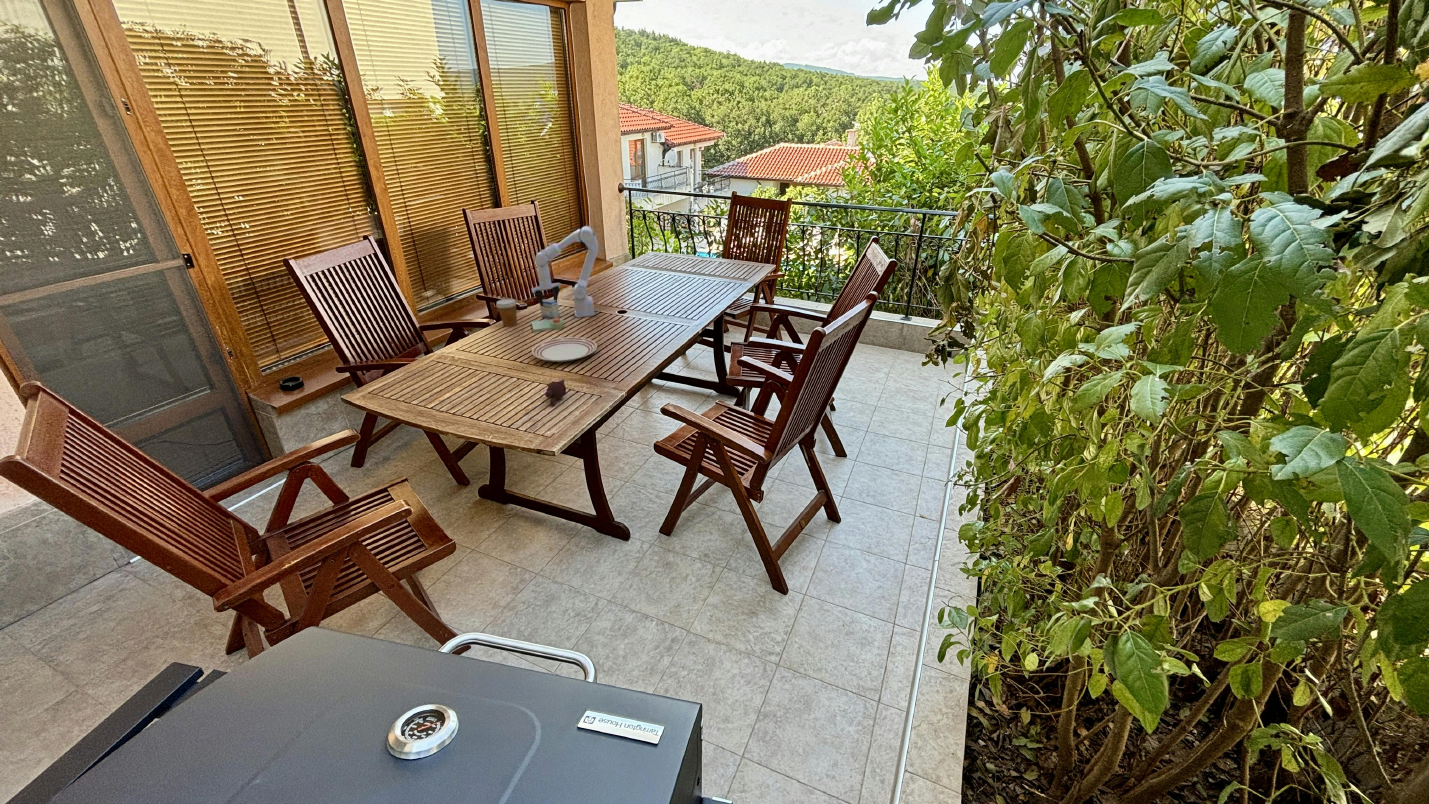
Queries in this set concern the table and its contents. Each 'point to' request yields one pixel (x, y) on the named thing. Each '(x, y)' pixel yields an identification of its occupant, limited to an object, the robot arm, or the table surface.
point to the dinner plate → (564, 349)
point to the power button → (556, 320)
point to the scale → (546, 325)
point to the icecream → (555, 391)
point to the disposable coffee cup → (507, 312)
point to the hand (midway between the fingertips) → (548, 303)
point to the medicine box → (549, 309)
